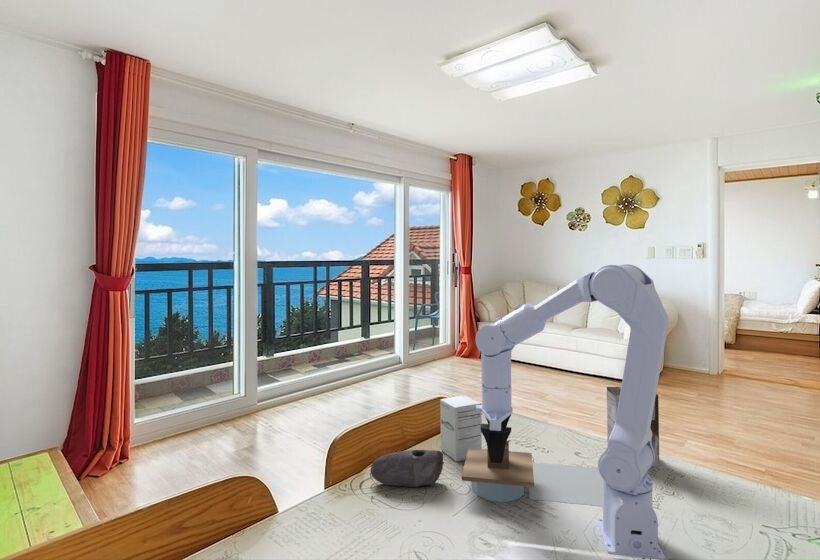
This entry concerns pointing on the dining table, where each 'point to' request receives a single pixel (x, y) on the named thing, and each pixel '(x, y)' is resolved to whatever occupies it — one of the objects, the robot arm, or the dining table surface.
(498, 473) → the lid
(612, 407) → the coffee box
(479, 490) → the bowl
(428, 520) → the dining table surface
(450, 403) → the supplement box
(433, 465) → the perforated stone tool
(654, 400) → the robot arm
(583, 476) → the mat
